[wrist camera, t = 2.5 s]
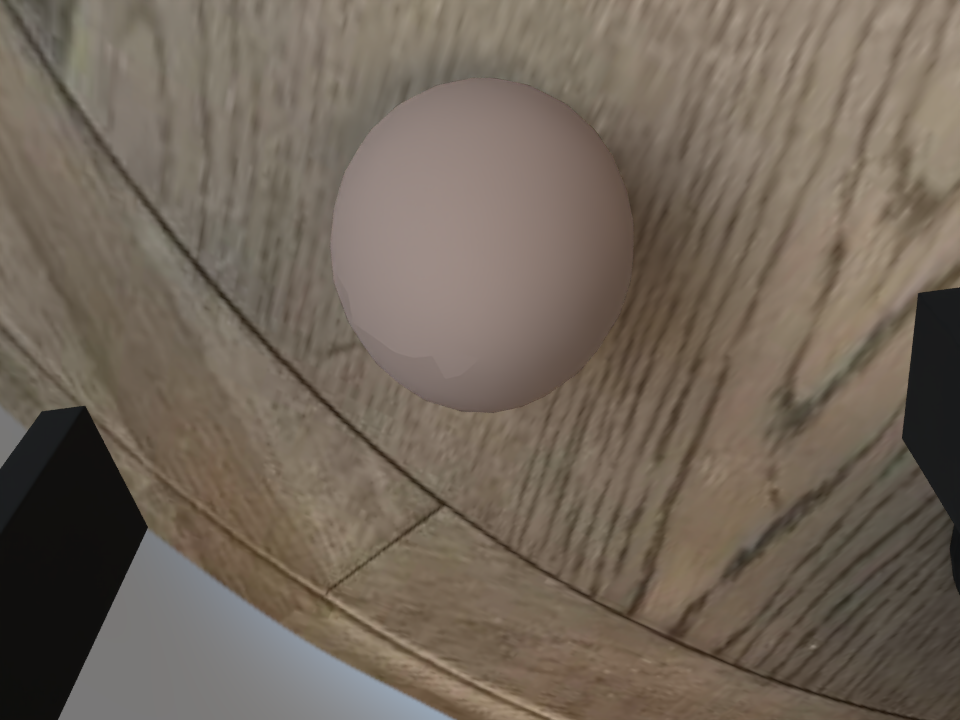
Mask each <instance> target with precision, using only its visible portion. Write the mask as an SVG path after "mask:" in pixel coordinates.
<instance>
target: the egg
mask: <svg viewBox="0 0 960 720" xmlns="http://www.w3.org/2000/svg"><path fill="white" fill-rule="evenodd" d="M633 238H634V222H633V218H632V213H631V208H630V203H629V198H628V193H627V189H626V186H625V184H624V181H623V179H622V177H621V174H620V172H619V170H618V167H617V165H616V162H615V160H614V158H613V156H612V154H611V153H610V151H609V150H608V148H607V147H606V145H605V144H604V143H603V141H602V140H601V138H600V137H599V135H598V134H597V132H596V131H595V130H594V129H593V128H592V127H591V126H590V125H589V124H588V123H587V122H585V121H584V120H583V119H582V118H581V117H580V116H579V115H578V114H577V113H576V112H575V111H573V110H572V109H571V108H570V107H569V106H568V105H567V104H565V103H563V102H561V101H559V100H557V99H555V98H553V97H551V96H549V95H547V94H546V93H544V92H542V91H540V90H538V89H536V88H534V87H532V86H530V85H526V84H521V83H516V82H511V81H507V80H502V79H497V78H469V79H464V80H459V81H454V82H449V83H444V84H440V85H436V86H434V87H432V88H430V89H428V90H426V91H424V92H422V93H420V94H418V95H416V96H414V97H412V98H410V99H408V100H406V101H404V102H402V103H400V104H399V105H397V106H396V107H395V108H394V109H393V110H392V111H391V112H390V113H389V114H387V115H386V116H385V117H384V118H383V119H382V120H381V121H380V122H379V123H378V124H377V125H375V126H374V127H373V128H372V129H371V130H370V131H369V133H368V135H367V136H366V138H365V139H364V141H363V142H362V144H361V145H360V147H359V148H358V150H357V152H356V153H355V155H354V157H353V158H352V160H351V162H350V164H349V165H348V167H347V169H346V170H345V172H344V175H343V178H342V182H341V185H340V189H339V192H338V196H337V199H336V203H335V206H334V211H333V221H332V232H331V243H330V248H331V258H332V268H333V278H334V284H335V286H336V289H337V292H338V295H339V297H340V300H341V303H342V306H343V309H344V311H345V314H346V317H347V320H348V322H349V323H350V325H351V327H352V328H353V330H354V331H355V333H356V334H357V336H358V338H359V339H360V341H361V342H362V344H363V345H364V347H365V348H366V349H367V351H368V352H369V354H370V355H371V356H372V358H373V359H374V361H375V362H376V363H377V364H378V365H379V366H380V367H381V368H382V369H383V370H385V371H386V372H387V373H388V374H389V375H390V376H391V377H392V378H393V379H395V380H396V381H397V382H398V383H399V384H401V385H403V386H404V387H406V388H407V389H409V390H410V391H412V392H413V393H415V394H416V395H418V396H419V397H421V398H422V399H424V400H426V401H429V402H432V403H436V404H439V405H442V406H445V407H449V408H452V409H455V410H459V411H465V412H489V413H494V412H499V411H504V410H509V409H514V408H518V407H522V406H524V405H527V404H529V403H531V402H533V401H535V400H538V399H540V398H542V397H544V396H546V395H547V394H549V393H550V392H552V391H553V390H555V389H556V388H557V387H559V386H560V385H562V384H563V383H565V382H566V381H567V380H569V379H570V378H572V377H573V376H575V375H576V374H577V373H578V372H579V371H580V370H581V369H582V368H583V366H584V365H585V364H586V363H587V362H588V361H589V360H590V358H591V357H592V356H593V355H594V354H595V353H596V352H597V350H598V349H599V347H600V345H601V344H602V342H603V341H604V339H605V337H606V336H607V334H608V333H609V331H610V329H611V328H612V326H613V325H614V323H615V321H616V320H617V318H618V317H619V315H620V312H621V309H622V306H623V303H624V300H625V297H626V294H627V291H628V288H629V285H630V282H631V273H632V265H633Z"/></svg>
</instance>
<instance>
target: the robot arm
mask: <svg viewBox="0 0 960 720" xmlns="http://www.w3.org/2000/svg"><path fill="white" fill-rule="evenodd" d="M902 439H903V441H904V442H905V444H906V446H907V447H908V449H909V451H910V452H911V454H912V455H913V457H914V459H915V460H916V462H917V464H918V465H919V467H920V469H921V470H922V472H923V474H924V475H925V477H926V479H927V480H928V482H929V483H930V485H931V487H932V488H933V490H934V492H935V493H936V495H937V497H938V498H939V500H940V502H941V503H942V505H943V507H944V508H945V510H946V511H947V513H948V515H949V516H950V518H951V520H952V521H953V523H954V525H955V526H956V528H957V530H958V531H959V533H960V288H952V289H945V290H938V291H930V292H923V293H918V300H917V309H916V318H915V327H914V336H913V345H912V354H911V362H910V371H909V380H908V389H907V398H906V407H905V416H904V425H903V434H902ZM147 528H148V526H147V524H146V522H145V520H144V519H143V517H142V515H141V513H140V511H139V509H138V507H137V505H136V503H135V501H134V499H133V497H132V495H131V493H130V491H129V490H128V488H127V486H126V484H125V482H124V480H123V478H122V476H121V474H120V472H119V470H118V468H117V466H116V464H115V462H114V460H113V459H112V457H111V455H110V453H109V451H108V449H107V447H106V445H105V443H104V441H103V439H102V437H101V435H100V433H99V431H98V429H97V428H96V426H95V424H94V422H93V420H92V418H91V416H90V414H89V412H88V410H87V408H86V406H79V407H72V408H64V409H57V410H50V411H42V412H41V413H40V415H39V416H38V417H37V419H36V420H35V422H34V423H33V424H32V426H31V427H30V428H29V430H28V431H27V433H26V434H25V435H24V437H23V438H22V440H21V441H20V442H19V444H18V445H17V446H16V448H15V449H14V451H13V452H12V453H11V455H10V456H9V458H8V459H7V460H6V462H5V463H4V465H3V466H2V467H1V469H0V720H58V718H59V716H60V714H61V712H62V710H63V707H64V706H65V703H66V701H67V699H68V697H69V695H70V693H71V691H72V688H73V686H74V684H75V682H76V680H77V678H78V676H79V673H80V671H81V669H82V667H83V665H84V663H85V660H86V659H87V656H88V654H89V652H90V650H91V648H92V646H93V644H94V641H95V639H96V637H97V635H98V633H99V631H100V629H101V626H102V624H103V622H104V620H105V618H106V616H107V613H108V611H109V610H110V607H111V605H112V603H113V601H114V599H115V597H116V595H117V592H118V590H119V588H120V586H121V584H122V582H123V580H124V578H125V575H126V573H127V571H128V569H129V567H130V565H131V563H132V560H133V558H134V556H135V554H136V552H137V550H138V548H139V545H140V543H141V541H142V539H143V537H144V535H145V533H146V531H147Z"/></svg>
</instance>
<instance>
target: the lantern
mask: <svg viewBox="0 0 960 720" xmlns="http://www.w3.org/2000/svg"><path fill="white" fill-rule="evenodd" d="M950 554H951V563H952V571H953V577H954V581H955V584H956V588H957V590H958V592H959V594H960V533H959V531H958V530H957V528H956V526H955V525H954V528H953V534H952V540H951V545H950Z"/></svg>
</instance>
